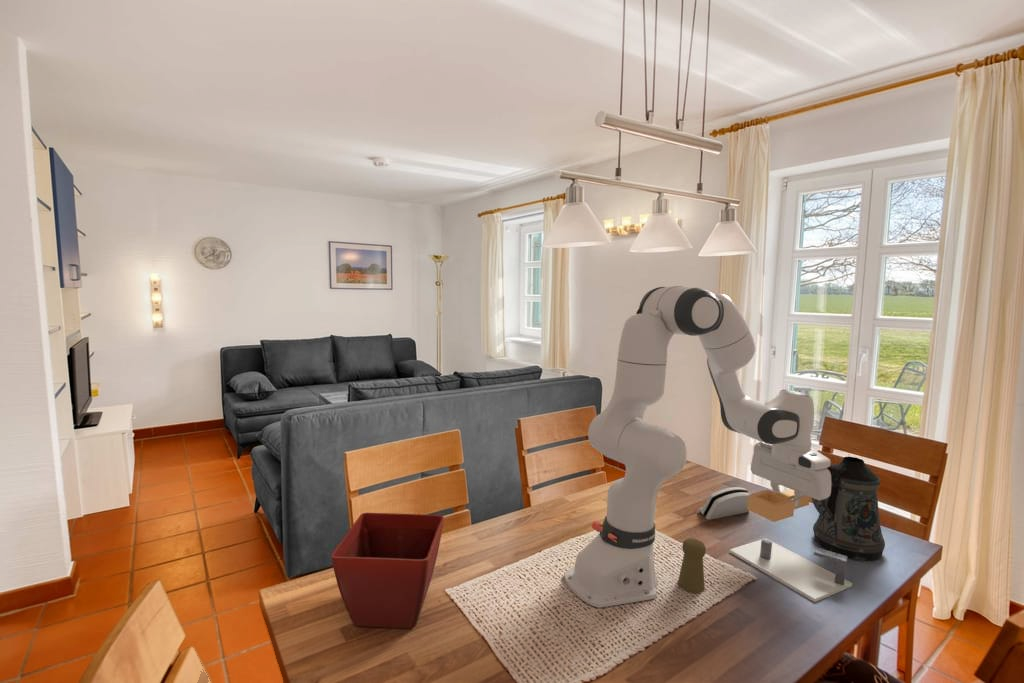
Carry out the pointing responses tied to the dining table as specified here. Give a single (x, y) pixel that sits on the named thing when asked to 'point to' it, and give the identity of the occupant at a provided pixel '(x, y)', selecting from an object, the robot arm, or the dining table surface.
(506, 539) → the dining table surface
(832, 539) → the beer stein
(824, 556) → the bracket
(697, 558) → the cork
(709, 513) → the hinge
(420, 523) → the plant pot
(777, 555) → the board
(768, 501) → the link
